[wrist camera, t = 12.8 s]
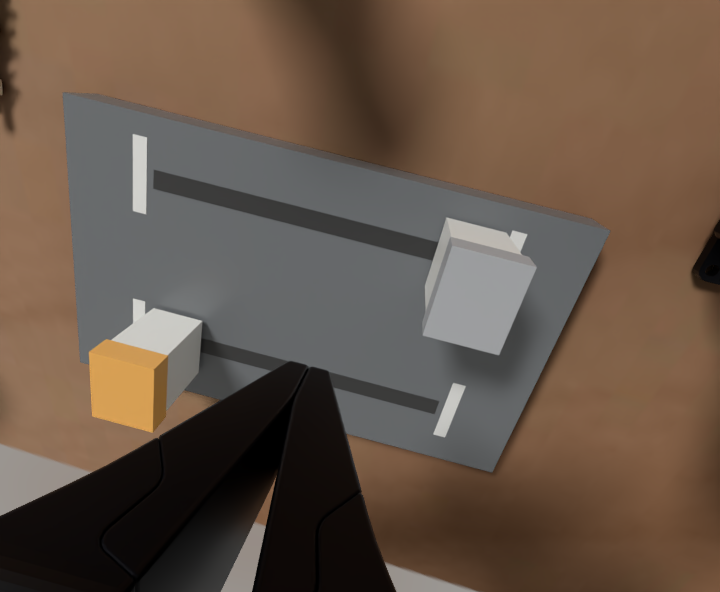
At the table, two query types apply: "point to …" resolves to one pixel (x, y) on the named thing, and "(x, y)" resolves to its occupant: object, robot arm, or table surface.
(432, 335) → the grey fader
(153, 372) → the orange fader
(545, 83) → the table surface
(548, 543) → the table surface
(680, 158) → the table surface
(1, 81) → the woven mat
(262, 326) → the console
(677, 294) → the table surface
